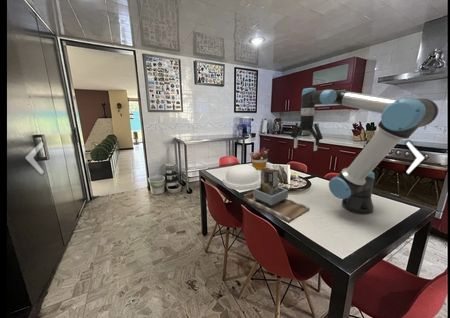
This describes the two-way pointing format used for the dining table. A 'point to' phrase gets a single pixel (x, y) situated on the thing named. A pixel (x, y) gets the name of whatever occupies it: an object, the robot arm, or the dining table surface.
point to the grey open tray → (270, 199)
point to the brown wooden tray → (279, 208)
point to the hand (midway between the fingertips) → (305, 149)
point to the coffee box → (269, 181)
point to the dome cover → (242, 177)
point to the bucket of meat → (259, 159)
